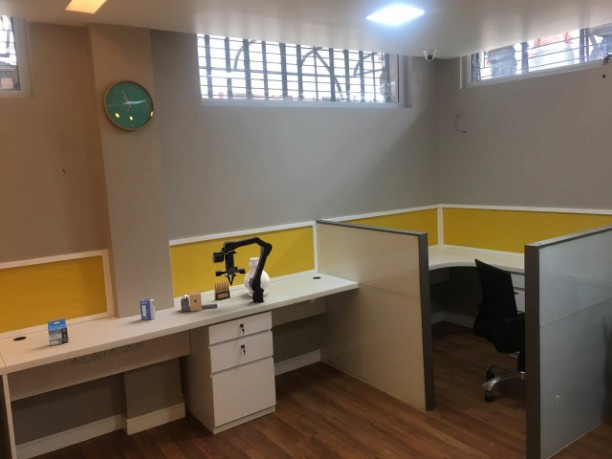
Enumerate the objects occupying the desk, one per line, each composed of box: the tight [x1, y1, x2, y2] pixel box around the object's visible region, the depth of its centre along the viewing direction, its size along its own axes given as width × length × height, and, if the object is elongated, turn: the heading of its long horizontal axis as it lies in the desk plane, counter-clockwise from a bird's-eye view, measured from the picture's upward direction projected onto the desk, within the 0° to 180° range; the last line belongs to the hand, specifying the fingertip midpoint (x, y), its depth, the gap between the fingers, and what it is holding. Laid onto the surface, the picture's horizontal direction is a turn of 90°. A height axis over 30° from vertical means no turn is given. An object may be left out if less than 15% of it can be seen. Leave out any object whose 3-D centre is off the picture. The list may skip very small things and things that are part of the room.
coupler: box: [180, 294, 218, 313], centre depth 335 cm, size 22×7×10 cm, turn 103°
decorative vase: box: [243, 256, 271, 297], centre depth 364 cm, size 18×18×25 cm
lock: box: [188, 291, 203, 312], centre depth 334 cm, size 7×8×10 cm
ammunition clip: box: [214, 279, 231, 302], centre depth 357 cm, size 11×2×12 cm, turn 125°
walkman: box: [139, 298, 157, 321], centre depth 319 cm, size 8×3×12 cm, turn 91°
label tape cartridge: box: [47, 318, 69, 347], centre depth 282 cm, size 9×4×12 cm, turn 121°
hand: (231, 285), depth 338 cm, fingers closed
